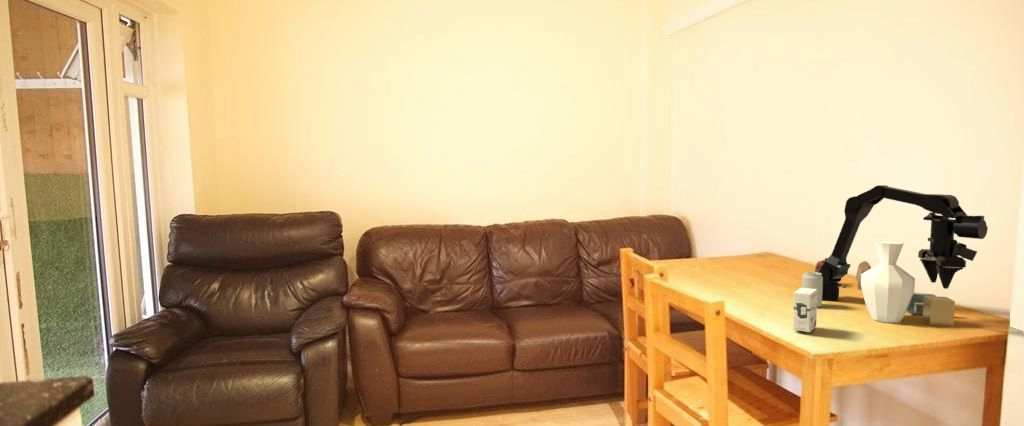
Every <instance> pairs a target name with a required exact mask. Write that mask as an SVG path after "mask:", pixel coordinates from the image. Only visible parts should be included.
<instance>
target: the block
mask: <svg viewBox="0 0 1024 426" xmlns="http://www.w3.org/2000/svg"><path fill="white" fill-rule="evenodd" d="M955 303H956V302H955V300H953V299H951V298H950V297H947V296H938V295H937V296H936V295H935V296H924V302H923V316H922V321H923V322H924V323H925V324H927V325H929V326H936V327H950V328H954V322H955V320H954V319H955V307H956V306H955V305H956V304H955Z"/></svg>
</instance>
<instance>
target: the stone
mask: <svg viewBox="0 0 1024 426" xmlns="http://www.w3.org/2000/svg"><path fill="white" fill-rule="evenodd" d="M871 268H872V267H871V265H870V263H869V262H868V261H866V260H864V261H862V262H860V263H859V265H858V267H857V271H856V274H855V279H856V282H857V283H858V284H857V290H860V291H862V288H861V274H862V273H864V272H866V271H868V270H869V269H871Z"/></svg>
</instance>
